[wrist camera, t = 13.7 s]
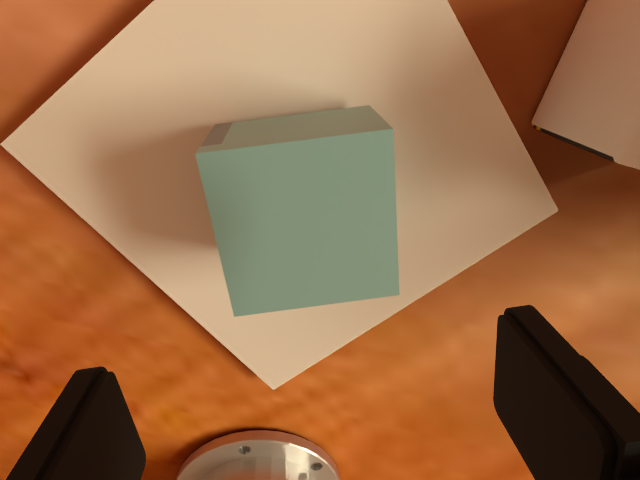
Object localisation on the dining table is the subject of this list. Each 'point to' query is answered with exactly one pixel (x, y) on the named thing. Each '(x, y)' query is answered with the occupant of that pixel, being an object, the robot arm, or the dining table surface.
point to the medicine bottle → (598, 84)
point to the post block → (273, 101)
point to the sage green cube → (303, 208)
